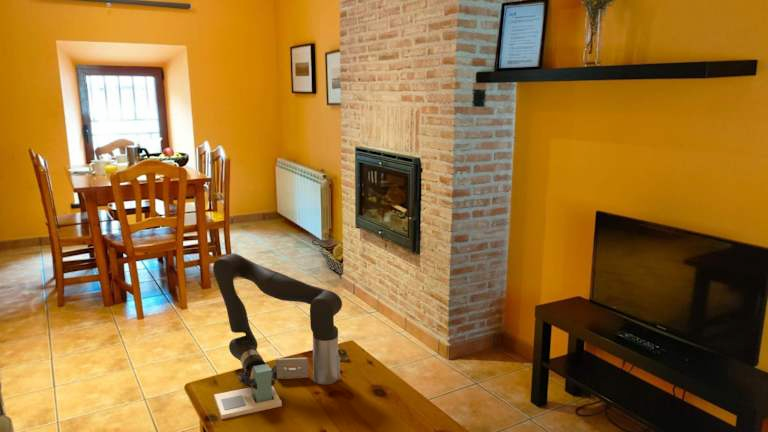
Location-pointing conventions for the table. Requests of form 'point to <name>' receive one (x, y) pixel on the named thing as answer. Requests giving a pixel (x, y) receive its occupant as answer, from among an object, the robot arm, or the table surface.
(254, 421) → the table surface
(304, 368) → the cassette
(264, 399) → the teal block
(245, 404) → the puzzle board
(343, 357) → the seal
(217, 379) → the table surface
